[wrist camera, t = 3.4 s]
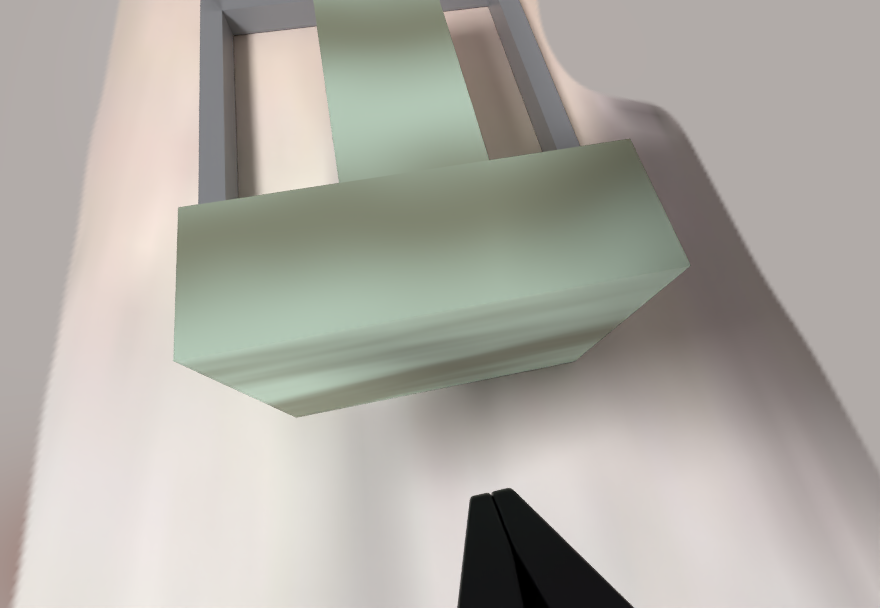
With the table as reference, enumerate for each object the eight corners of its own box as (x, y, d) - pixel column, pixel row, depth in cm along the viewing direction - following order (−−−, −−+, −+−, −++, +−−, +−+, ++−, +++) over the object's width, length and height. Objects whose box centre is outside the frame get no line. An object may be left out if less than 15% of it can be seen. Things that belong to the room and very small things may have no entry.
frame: (590, 216, 21) (601, 197, 20) (214, 279, 20) (197, 263, 18) (501, -8, 28) (504, -34, 27) (212, 24, 26) (200, -1, 25)
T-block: (574, 361, 19) (690, 265, 10) (296, 417, 17) (173, 360, 9) (494, 121, 24) (528, -73, 15) (276, 152, 23) (185, -38, 14)
